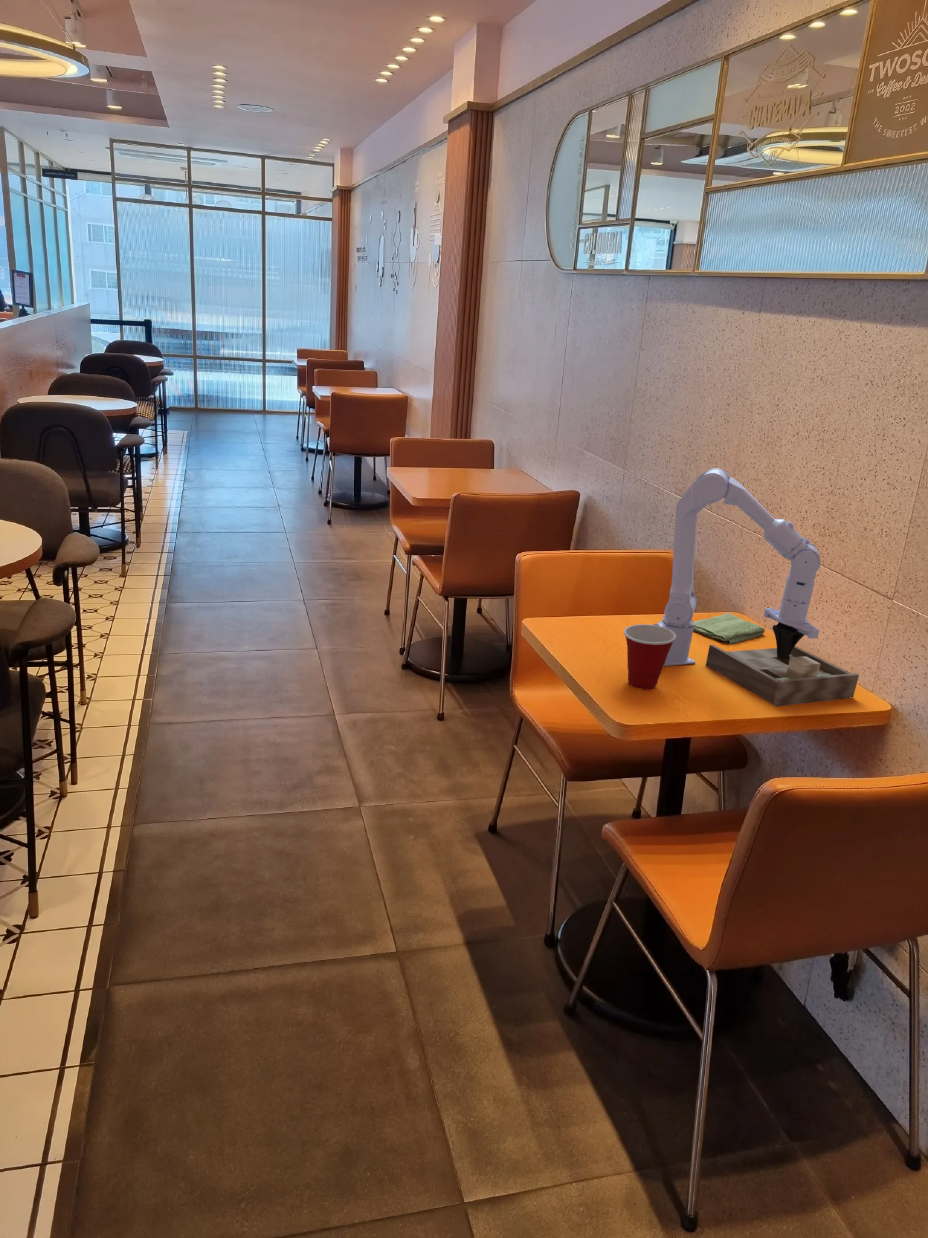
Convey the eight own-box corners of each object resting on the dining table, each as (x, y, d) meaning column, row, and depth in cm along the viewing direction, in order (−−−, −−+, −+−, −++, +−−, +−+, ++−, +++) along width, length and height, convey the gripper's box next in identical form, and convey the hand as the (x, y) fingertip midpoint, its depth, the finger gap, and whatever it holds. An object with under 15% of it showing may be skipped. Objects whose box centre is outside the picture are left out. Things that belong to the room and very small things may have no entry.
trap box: (776, 706, 187) (782, 682, 185) (705, 665, 206) (710, 642, 204) (853, 698, 196) (859, 674, 194) (778, 659, 215) (783, 637, 214)
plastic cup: (605, 676, 193) (614, 623, 189) (648, 673, 197) (657, 622, 194) (632, 696, 184) (642, 641, 180) (676, 693, 188) (687, 639, 184)
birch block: (800, 684, 192) (804, 665, 191) (785, 676, 196) (790, 657, 195) (815, 682, 194) (820, 663, 193) (801, 674, 198) (805, 656, 196)
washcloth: (684, 630, 231) (686, 618, 230) (725, 622, 242) (728, 610, 241) (727, 647, 222) (729, 635, 221) (767, 637, 233) (770, 626, 231)
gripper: (835, 609, 191) (820, 669, 195) (786, 589, 203) (773, 645, 207) (810, 610, 188) (795, 671, 192) (762, 589, 200) (749, 646, 204)
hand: (782, 657), depth 199 cm, fingers closed
